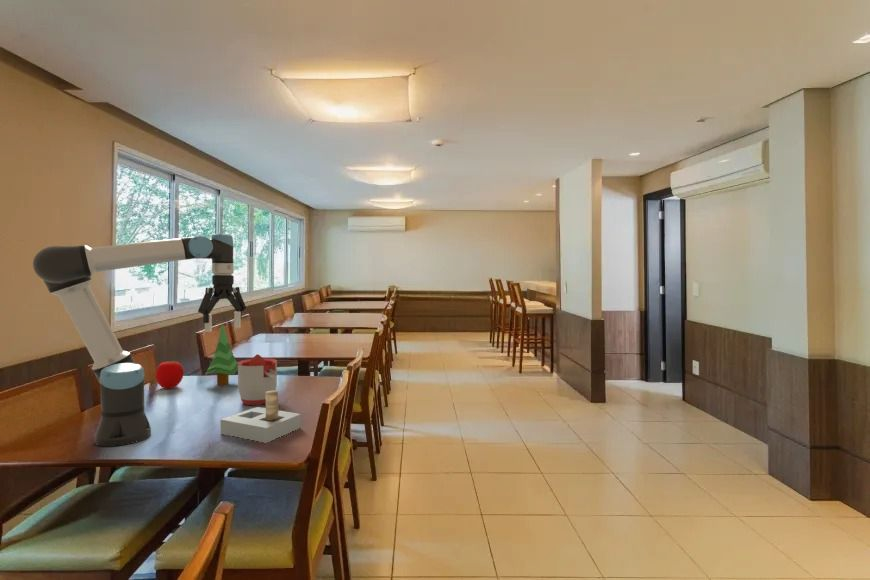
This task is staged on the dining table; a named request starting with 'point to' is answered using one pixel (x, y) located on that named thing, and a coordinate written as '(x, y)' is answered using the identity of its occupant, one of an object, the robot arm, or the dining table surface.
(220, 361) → the decorative tree
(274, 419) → the peg
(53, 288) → the robot arm
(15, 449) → the dining table surface
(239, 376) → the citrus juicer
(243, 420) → the board
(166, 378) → the red rounded piece
